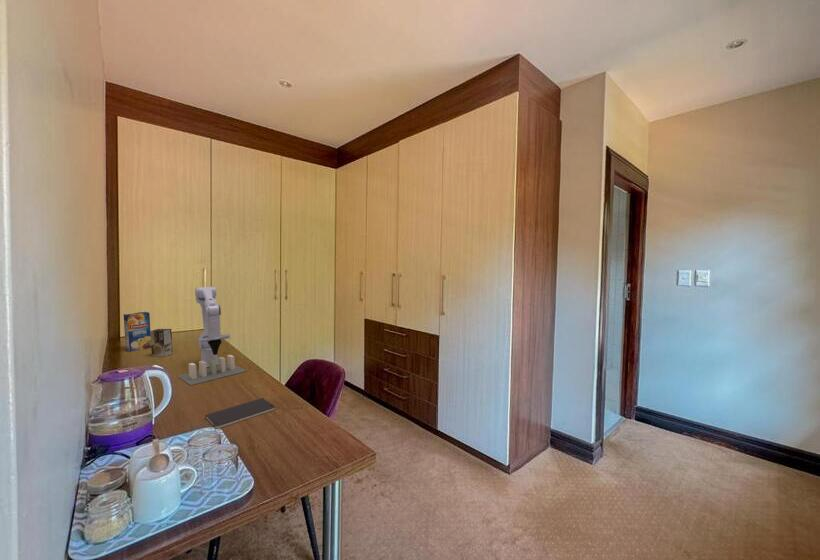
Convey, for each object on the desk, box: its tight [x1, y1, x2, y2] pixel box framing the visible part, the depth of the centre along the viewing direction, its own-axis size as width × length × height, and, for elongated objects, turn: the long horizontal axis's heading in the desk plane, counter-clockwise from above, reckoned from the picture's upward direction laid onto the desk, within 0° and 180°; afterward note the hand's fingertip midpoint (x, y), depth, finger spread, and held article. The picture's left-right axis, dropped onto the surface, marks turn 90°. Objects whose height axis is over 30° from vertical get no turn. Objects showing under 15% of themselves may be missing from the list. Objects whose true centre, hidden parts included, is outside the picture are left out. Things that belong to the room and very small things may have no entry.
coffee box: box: [150, 328, 174, 358], centre depth 209 cm, size 9×6×16 cm
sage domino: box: [208, 359, 217, 375], centre depth 174 cm, size 2×5×7 cm, turn 50°
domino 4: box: [226, 354, 236, 370], centre depth 180 cm, size 2×5×7 cm, turn 49°
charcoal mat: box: [177, 363, 248, 387], centre depth 174 cm, size 20×26×1 cm
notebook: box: [204, 397, 276, 429], centre depth 129 cm, size 13×2×21 cm
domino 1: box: [188, 362, 197, 379], centre depth 167 cm, size 2×5×7 cm, turn 49°
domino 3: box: [217, 356, 227, 372], centre depth 177 cm, size 2×5×7 cm, turn 49°
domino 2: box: [198, 360, 207, 377], centre depth 170 cm, size 2×5×7 cm, turn 49°
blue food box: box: [123, 311, 152, 353], centre depth 224 cm, size 12×8×24 cm, turn 145°
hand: (215, 354), depth 174 cm, fingers closed
